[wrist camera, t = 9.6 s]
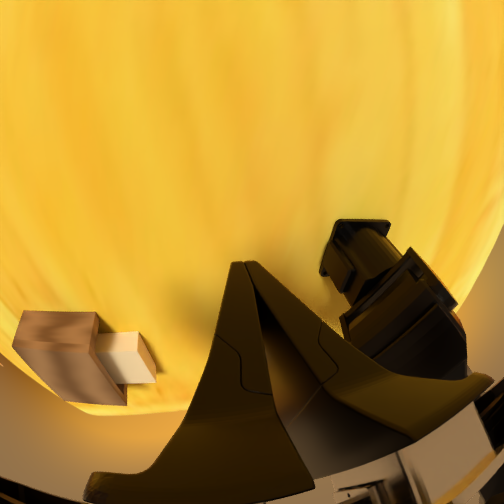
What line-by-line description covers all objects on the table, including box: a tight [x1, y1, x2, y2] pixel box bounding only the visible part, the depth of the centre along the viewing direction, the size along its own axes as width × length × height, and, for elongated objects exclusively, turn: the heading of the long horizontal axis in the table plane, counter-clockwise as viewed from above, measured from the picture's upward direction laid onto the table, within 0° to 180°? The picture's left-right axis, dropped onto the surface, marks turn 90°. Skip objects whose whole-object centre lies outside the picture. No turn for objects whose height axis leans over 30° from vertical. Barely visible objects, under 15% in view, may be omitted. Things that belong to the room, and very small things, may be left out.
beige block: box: [95, 331, 156, 384], centre depth 28 cm, size 10×8×3 cm
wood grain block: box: [12, 311, 127, 406], centre depth 25 cm, size 10×14×5 cm
